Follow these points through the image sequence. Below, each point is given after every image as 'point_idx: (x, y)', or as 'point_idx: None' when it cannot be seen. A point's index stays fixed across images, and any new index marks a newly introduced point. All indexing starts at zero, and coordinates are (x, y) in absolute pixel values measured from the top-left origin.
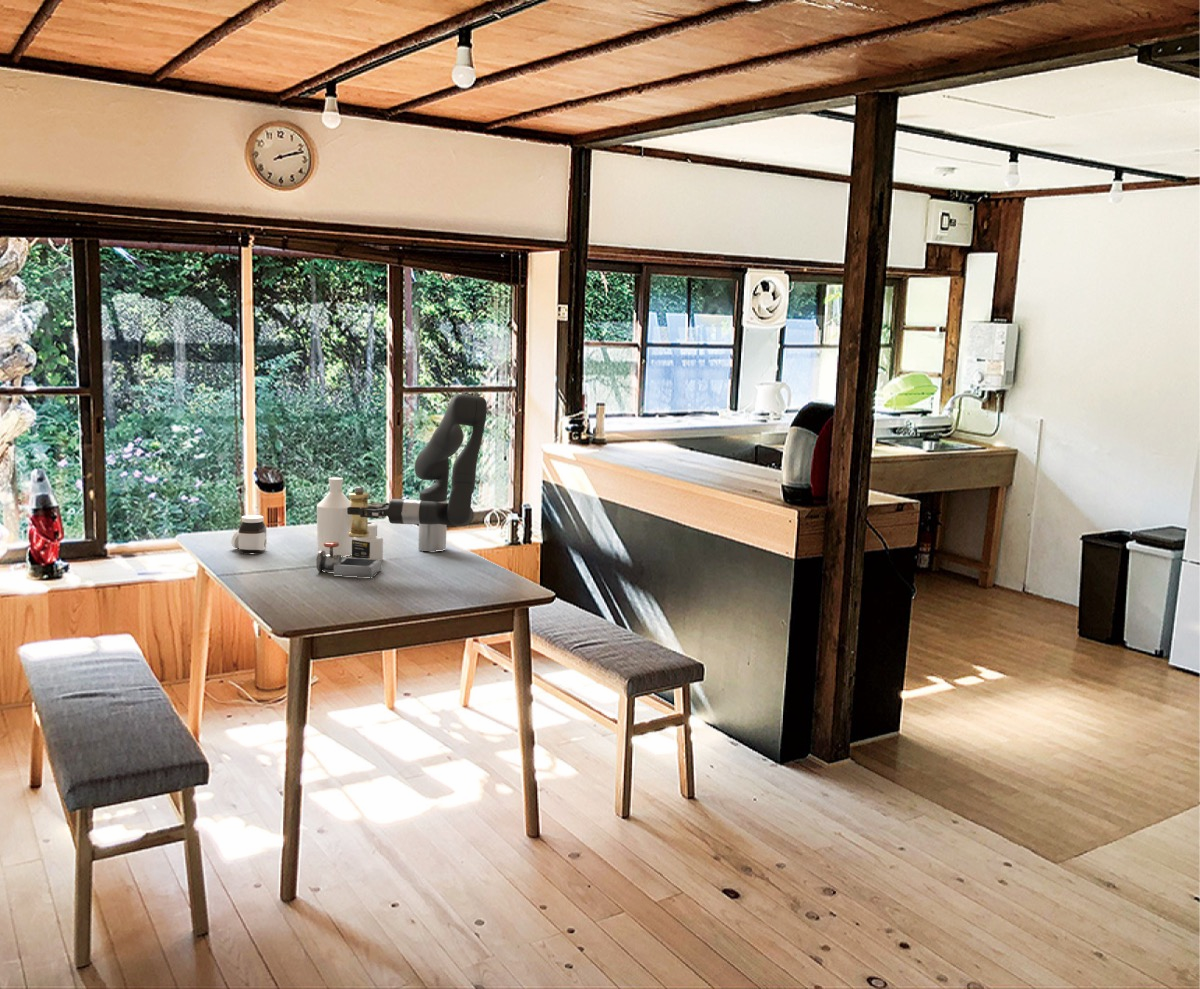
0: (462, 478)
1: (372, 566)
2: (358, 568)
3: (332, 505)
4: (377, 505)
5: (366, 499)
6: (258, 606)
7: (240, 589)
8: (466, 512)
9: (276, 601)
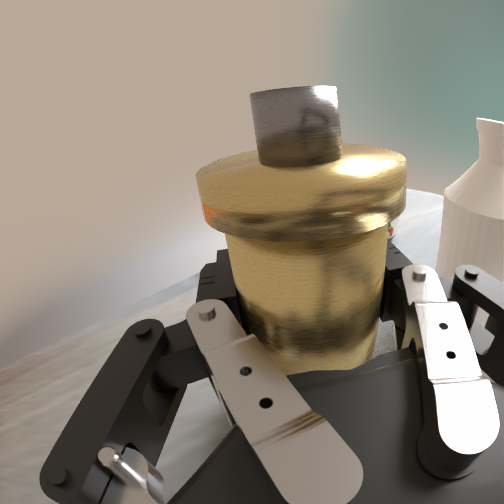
0: None
1: None
2: None
3: (464, 197)
4: (284, 428)
5: (302, 241)
6: (9, 369)
7: (105, 322)
8: None
9: (25, 385)
